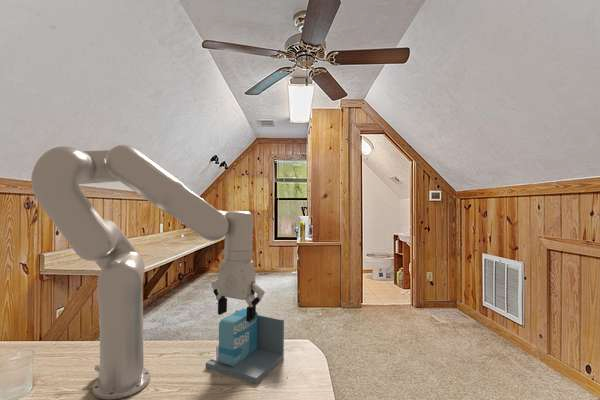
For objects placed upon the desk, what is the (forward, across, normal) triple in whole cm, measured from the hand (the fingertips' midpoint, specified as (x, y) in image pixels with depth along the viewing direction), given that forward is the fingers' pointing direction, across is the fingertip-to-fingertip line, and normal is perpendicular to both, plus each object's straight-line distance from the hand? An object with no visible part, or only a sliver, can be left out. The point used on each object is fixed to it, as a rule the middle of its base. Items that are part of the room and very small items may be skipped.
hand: (236, 316), depth 94 cm
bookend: (+12, -4, +1) cm, 13 cm away
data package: (+12, 0, +1) cm, 12 cm away
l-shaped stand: (+13, +3, +2) cm, 14 cm away
